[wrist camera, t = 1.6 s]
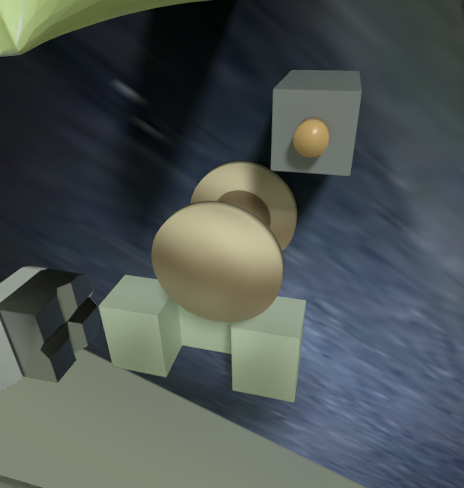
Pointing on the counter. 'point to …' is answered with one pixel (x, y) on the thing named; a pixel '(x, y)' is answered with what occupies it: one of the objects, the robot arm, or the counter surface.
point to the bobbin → (227, 243)
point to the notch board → (204, 337)
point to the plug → (315, 121)
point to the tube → (60, 18)
